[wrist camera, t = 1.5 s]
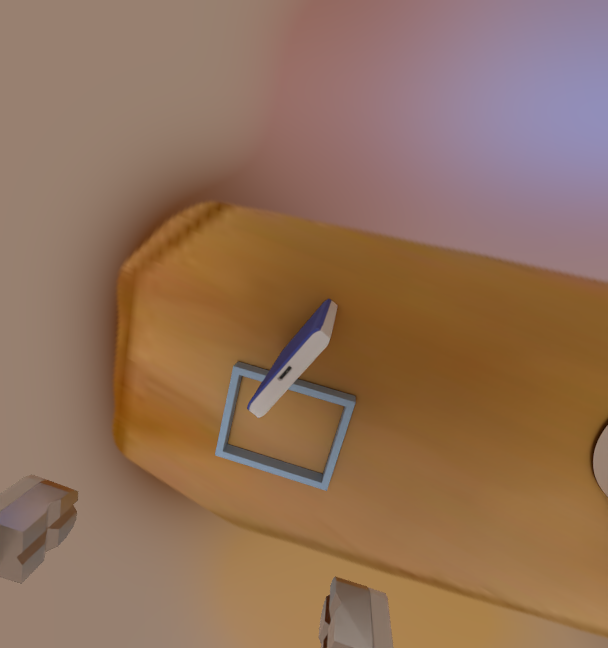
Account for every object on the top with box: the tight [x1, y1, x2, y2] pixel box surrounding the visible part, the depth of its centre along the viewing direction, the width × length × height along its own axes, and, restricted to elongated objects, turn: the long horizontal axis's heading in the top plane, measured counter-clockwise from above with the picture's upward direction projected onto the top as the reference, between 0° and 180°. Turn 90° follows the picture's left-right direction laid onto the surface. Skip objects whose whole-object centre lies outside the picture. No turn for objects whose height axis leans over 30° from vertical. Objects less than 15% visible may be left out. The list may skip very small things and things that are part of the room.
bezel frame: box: [215, 361, 356, 491], centre depth 37 cm, size 14×12×2 cm
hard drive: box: [247, 299, 338, 418], centre depth 29 cm, size 2×8×12 cm, turn 141°
